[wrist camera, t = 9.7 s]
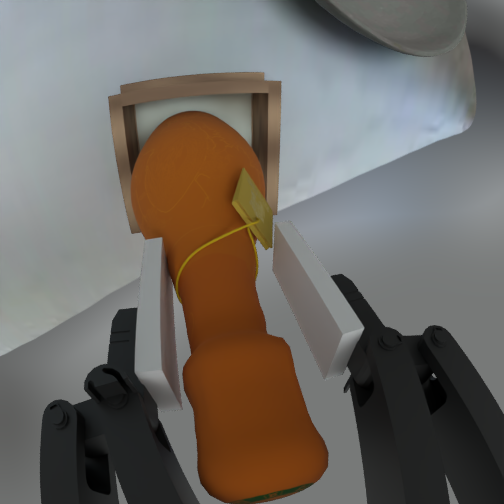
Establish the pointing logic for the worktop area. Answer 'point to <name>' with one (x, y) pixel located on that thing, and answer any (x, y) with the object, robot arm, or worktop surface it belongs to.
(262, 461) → the wine bottle
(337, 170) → the worktop surface
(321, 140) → the worktop surface
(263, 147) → the walnut U-rest
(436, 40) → the bowl
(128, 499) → the robot arm
